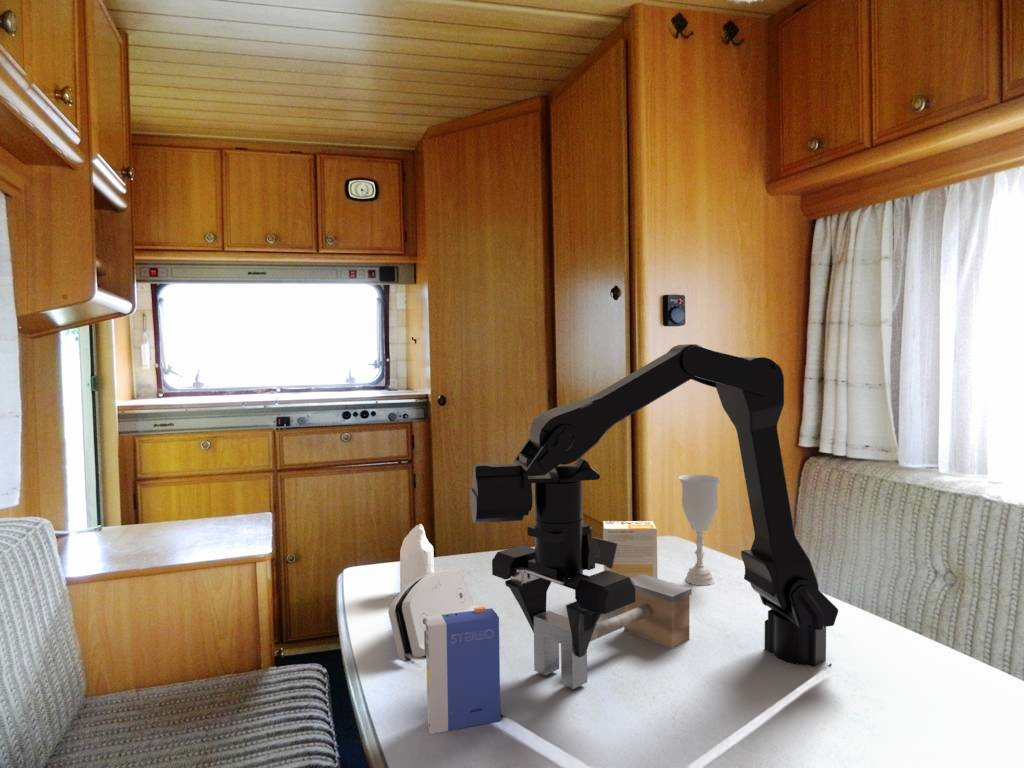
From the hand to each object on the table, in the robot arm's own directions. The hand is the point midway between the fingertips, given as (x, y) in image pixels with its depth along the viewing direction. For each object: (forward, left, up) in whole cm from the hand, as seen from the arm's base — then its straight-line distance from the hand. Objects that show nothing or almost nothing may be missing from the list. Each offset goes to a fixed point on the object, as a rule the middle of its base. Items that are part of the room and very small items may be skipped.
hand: (560, 646), depth 81 cm
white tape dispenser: (+22, +2, -5) cm, 23 cm away
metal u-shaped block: (0, 0, -4) cm, 4 cm away
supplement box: (+11, -27, -5) cm, 30 cm away
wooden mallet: (0, -12, -5) cm, 13 cm away
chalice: (+10, -45, -5) cm, 46 cm away
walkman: (+2, +13, -5) cm, 14 cm away
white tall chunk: (+38, -5, -5) cm, 39 cm away
